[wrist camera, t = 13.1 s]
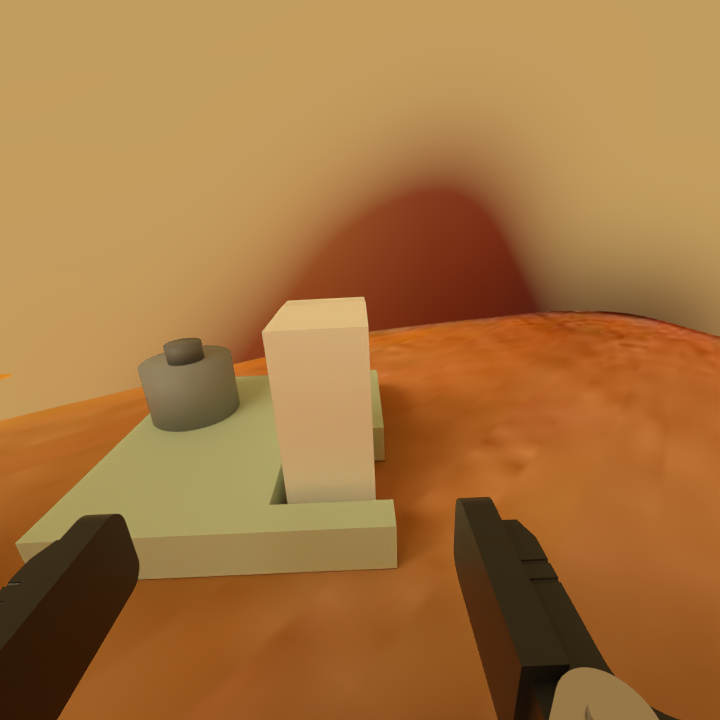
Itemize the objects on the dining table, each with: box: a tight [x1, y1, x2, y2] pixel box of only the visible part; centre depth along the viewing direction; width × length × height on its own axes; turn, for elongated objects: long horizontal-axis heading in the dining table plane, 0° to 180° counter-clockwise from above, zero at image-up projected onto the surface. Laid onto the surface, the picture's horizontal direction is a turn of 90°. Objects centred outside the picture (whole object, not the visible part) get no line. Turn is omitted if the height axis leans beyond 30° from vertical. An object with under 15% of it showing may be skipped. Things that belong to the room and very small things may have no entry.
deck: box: [15, 338, 397, 579], centre depth 25 cm, size 17×18×8 cm
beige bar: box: [262, 297, 376, 504], centre depth 21 cm, size 4×6×11 cm
